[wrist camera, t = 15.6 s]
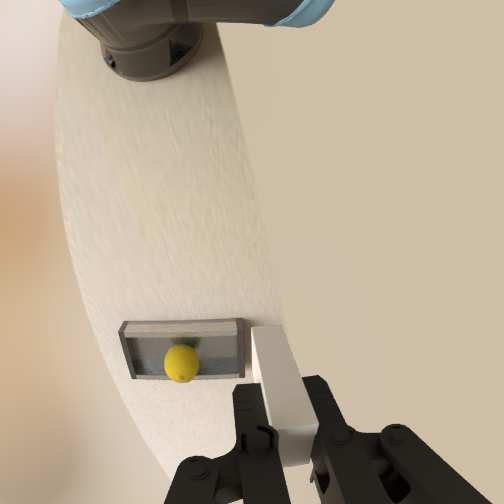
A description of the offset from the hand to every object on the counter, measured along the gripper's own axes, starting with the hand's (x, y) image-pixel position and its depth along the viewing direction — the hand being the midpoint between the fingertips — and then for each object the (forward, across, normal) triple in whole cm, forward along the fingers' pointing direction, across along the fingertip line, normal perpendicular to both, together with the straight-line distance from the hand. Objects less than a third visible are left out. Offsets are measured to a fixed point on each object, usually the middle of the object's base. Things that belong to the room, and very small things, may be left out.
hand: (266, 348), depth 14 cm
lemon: (+29, -10, -20) cm, 36 cm away
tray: (+29, -10, -20) cm, 37 cm away
